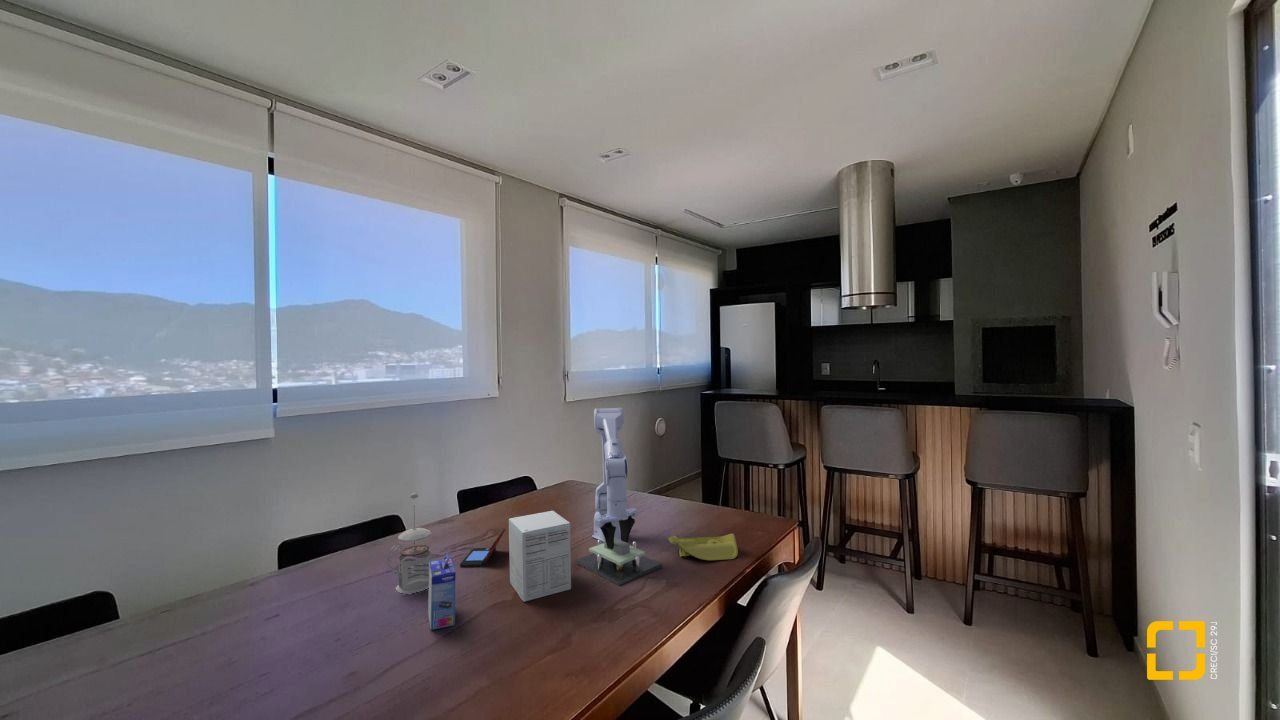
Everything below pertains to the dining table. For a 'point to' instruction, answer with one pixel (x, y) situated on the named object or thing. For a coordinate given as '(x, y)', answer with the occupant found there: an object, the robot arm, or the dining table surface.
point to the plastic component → (707, 547)
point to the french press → (413, 560)
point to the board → (616, 556)
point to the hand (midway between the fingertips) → (617, 545)
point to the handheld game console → (480, 555)
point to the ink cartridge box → (441, 593)
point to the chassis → (618, 567)
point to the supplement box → (539, 555)
